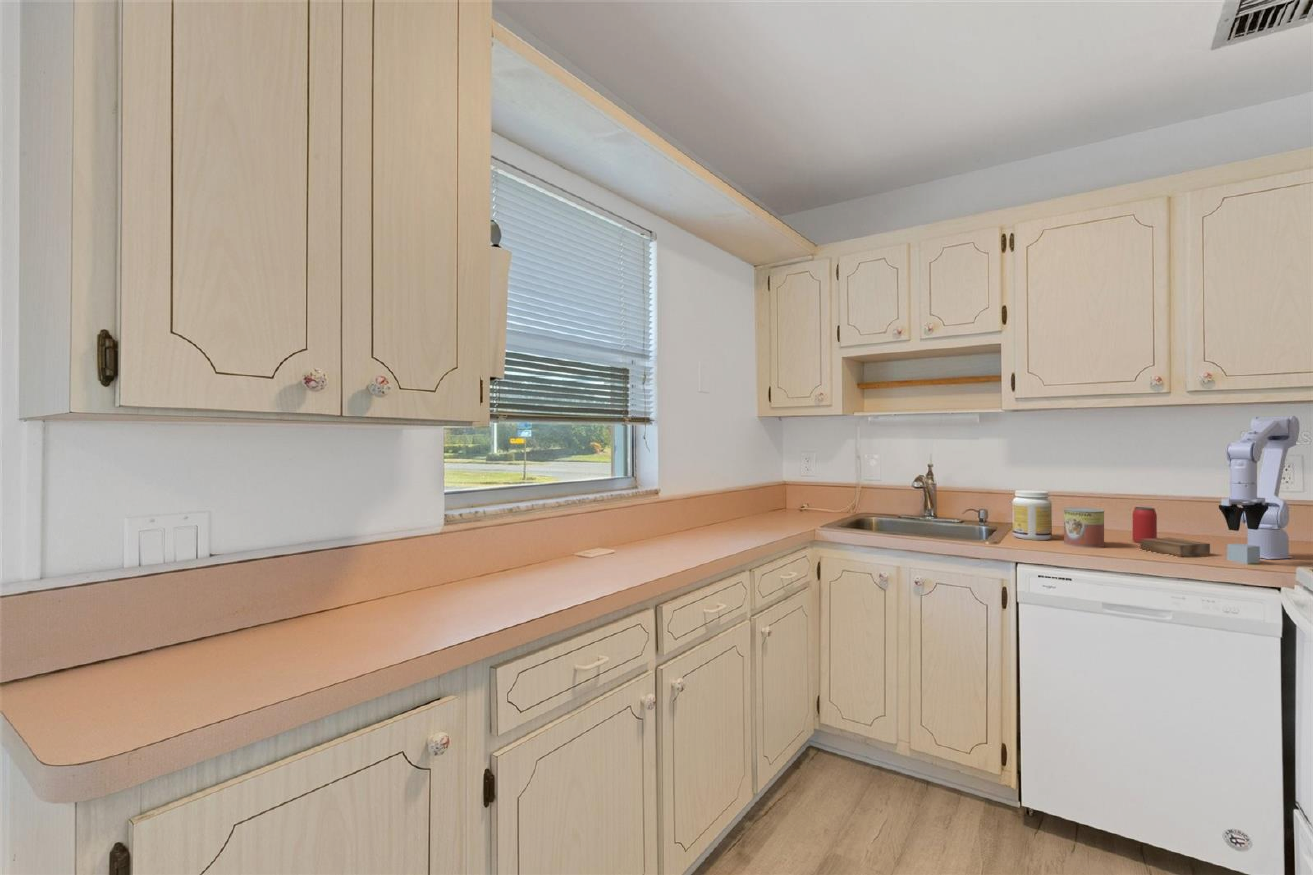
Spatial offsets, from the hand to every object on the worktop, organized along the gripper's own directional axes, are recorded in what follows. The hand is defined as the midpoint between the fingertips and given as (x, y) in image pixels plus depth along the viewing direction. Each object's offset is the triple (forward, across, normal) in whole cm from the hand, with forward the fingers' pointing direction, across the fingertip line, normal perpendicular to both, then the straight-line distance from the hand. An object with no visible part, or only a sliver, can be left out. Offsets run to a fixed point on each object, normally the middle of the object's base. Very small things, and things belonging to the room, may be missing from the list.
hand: (1243, 529), depth 178 cm
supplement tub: (+10, -24, +50) cm, 56 cm away
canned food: (+10, -19, +34) cm, 40 cm away
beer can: (+10, +5, +32) cm, 34 cm away
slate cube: (+10, 0, 0) cm, 10 cm away
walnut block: (+10, -4, +16) cm, 19 cm away
